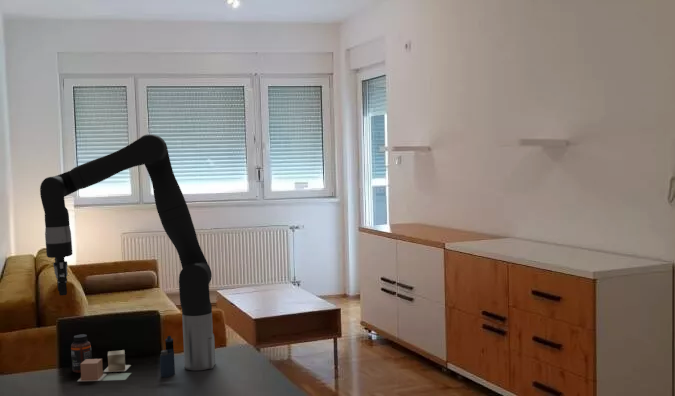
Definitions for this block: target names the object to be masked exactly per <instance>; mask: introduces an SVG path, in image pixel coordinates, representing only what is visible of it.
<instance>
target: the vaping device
mask: <svg viewBox="0 0 675 396" xmlns="http://www.w3.org/2000/svg"><path fill="white" fill-rule="evenodd" d="M164 341H165V349H164V350H163V349H162V350H161V351H160V356H159V364H160V365H159V366H160V368H159V369H160V377H161V378H169V377H171V376H173V375H175V374H176V367H175V366H176V365H175V351H174V339H173V338H172V335H168V336H167V337H166V338H165V340H164Z"/></svg>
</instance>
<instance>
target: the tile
mask: <svg viewBox="0 0 675 396" xmlns="http://www.w3.org/2000/svg"><path fill="white" fill-rule="evenodd" d="M131 366H132V365H131V364H125V370H118V371H109V370H108V366H107V367H106V368H105V369H104V370H103V373H112V372H113V373H117V372H119V373H120V372H121V373H122V372H126V371H127V370H128V369H129V368H130V367H131Z"/></svg>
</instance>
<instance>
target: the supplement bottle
mask: <svg viewBox="0 0 675 396" xmlns="http://www.w3.org/2000/svg"><path fill="white" fill-rule="evenodd" d="M91 345H92V344H91V342H90V341H88V335H87V334H84V333H82V334H77V335H74V336H73V342H72V343H71V345H70V351H71V352H70V353H71V354H70V355H71V366H72V372H73V373H81V365H80V364H81V363H82V362H83V361H84V360H85V359H93V357H92V346H91Z"/></svg>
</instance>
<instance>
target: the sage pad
mask: <svg viewBox="0 0 675 396" xmlns="http://www.w3.org/2000/svg"><path fill="white" fill-rule="evenodd" d="M131 374H132V372H121V373H120V372H119V373H117V372H113V373H107V374H106V375H105V377H104V378H103V379H102V380H101V381H103V382H104V381H126V380H127V379H128V378H129V376H130V375H131Z"/></svg>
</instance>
